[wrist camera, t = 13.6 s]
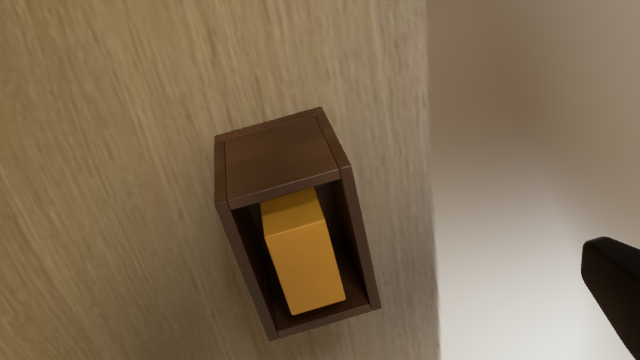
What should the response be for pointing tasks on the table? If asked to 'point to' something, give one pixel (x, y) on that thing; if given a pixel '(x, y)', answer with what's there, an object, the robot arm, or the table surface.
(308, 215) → the block
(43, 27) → the table surface
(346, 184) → the holder
